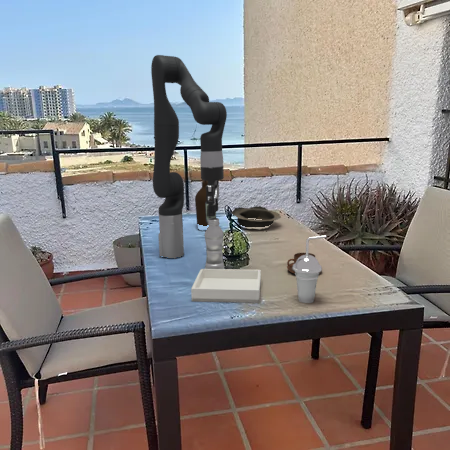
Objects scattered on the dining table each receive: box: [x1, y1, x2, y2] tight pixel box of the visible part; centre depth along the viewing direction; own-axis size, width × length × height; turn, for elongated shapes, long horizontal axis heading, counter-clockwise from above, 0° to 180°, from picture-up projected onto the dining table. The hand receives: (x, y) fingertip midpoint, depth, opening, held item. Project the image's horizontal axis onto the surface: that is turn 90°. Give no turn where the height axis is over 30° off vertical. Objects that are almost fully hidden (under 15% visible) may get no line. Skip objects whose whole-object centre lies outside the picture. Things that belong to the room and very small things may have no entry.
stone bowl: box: [231, 205, 282, 227], centre depth 218 cm, size 25×25×9 cm
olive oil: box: [194, 179, 217, 226], centre depth 214 cm, size 11×11×25 cm
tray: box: [190, 268, 262, 304], centre depth 135 cm, size 20×18×4 cm
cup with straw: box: [292, 235, 327, 304], centre depth 125 cm, size 8×9×20 cm
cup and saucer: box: [286, 252, 316, 275], centre depth 151 cm, size 12×12×6 cm
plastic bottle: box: [204, 217, 225, 269], centre depth 147 cm, size 6×7×20 cm
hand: (213, 213), depth 145 cm, fingers open, 8 cm apart
